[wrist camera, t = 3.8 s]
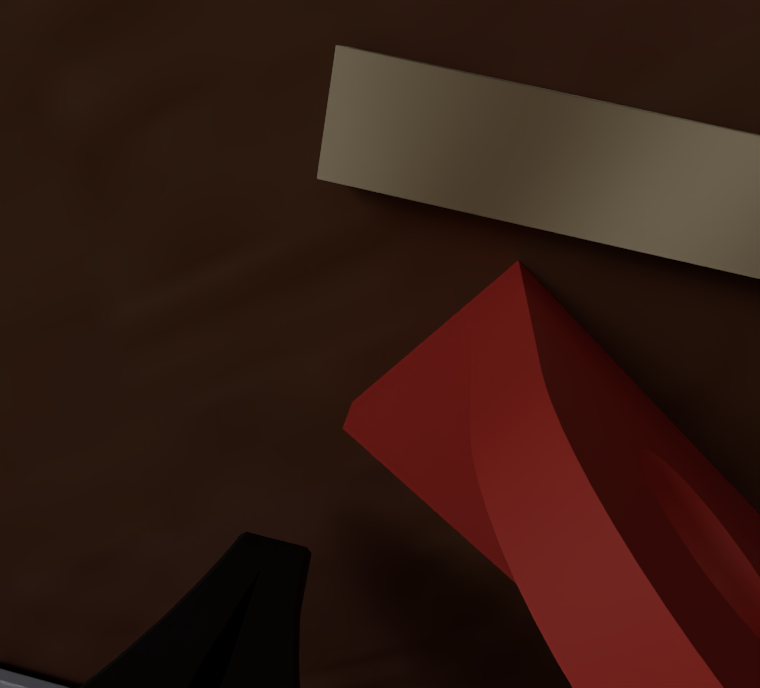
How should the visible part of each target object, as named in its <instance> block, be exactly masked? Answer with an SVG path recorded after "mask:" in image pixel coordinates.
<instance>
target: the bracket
mask: <svg viewBox="0 0 760 688" xmlns="http://www.w3.org/2000/svg"><path fill="white" fill-rule="evenodd" d="M343 429H344V430H345V431H346V432H347V433H348V434H350V435H351V436H352V437H353V438H354V439H355V440H356V441H357V442H358V443H360V444H361V445H362V446H363V447H364V448H365V449H366V450H367V451H369V452H370V453H371V454H372V455H373V456H374V457H375V458H376V459H377V460H379V461H380V462H381V463H382V464H383V465H384V466H385V467H386V468H388V469H389V470H390V471H391V472H392V473H393V474H394V475H395V476H396V477H398V478H399V479H400V480H401V481H402V482H403V483H404V484H405V485H406V486H408V487H409V488H410V489H411V490H412V491H413V492H414V493H415V494H417V495H418V496H419V497H420V498H421V499H422V500H423V501H424V502H425V503H427V504H428V505H429V506H430V507H431V508H432V509H433V510H434V511H436V512H437V513H438V514H439V515H440V516H441V517H442V518H443V519H444V520H446V521H447V522H448V523H449V524H450V525H451V526H452V527H453V528H455V529H456V530H457V531H458V532H459V533H460V534H461V535H462V536H463V537H465V538H466V539H467V540H468V541H469V542H470V543H471V544H472V545H474V546H475V547H476V548H477V549H478V550H479V551H480V552H481V553H482V554H484V555H485V556H486V557H487V558H488V559H489V560H490V561H491V562H492V563H494V564H495V565H496V566H497V567H498V568H499V569H500V570H501V571H503V572H504V573H505V574H506V575H507V576H508V577H509V578H510V579H511V580H513V581H514V582H515V583H516V584H517V586H518V588H519V590H520V592H521V594H522V596H523V598H524V600H525V602H526V604H527V606H528V608H529V610H530V612H531V614H532V616H533V618H534V620H535V622H536V624H537V626H538V628H539V630H540V631H541V633H542V635H543V637H544V639H545V641H546V642H547V644H548V646H549V648H550V650H551V652H552V653H553V655H554V657H555V659H556V661H557V662H558V664H559V666H560V667H561V669H562V671H563V672H564V674H565V676H566V677H567V679H568V681H569V682H570V684H571V686H572V687H573V688H760V514H759V513H758V512H757V511H756V510H755V509H754V508H753V507H752V506H751V505H750V504H749V503H748V502H747V501H746V499H745V498H744V497H743V496H742V495H741V494H740V493H739V492H738V491H737V490H736V489H735V488H734V487H733V486H732V485H731V484H730V483H729V482H728V481H727V479H726V478H725V477H724V476H723V475H722V474H721V473H720V472H719V471H718V470H717V469H716V468H715V467H714V466H713V465H712V464H711V463H710V462H709V461H708V459H707V458H706V457H705V456H704V455H703V454H702V453H701V452H700V451H699V450H698V449H697V448H696V447H695V446H694V445H693V444H692V443H691V442H690V441H689V439H688V438H687V437H686V436H685V435H684V434H683V433H682V432H681V431H680V430H679V429H678V428H677V427H676V426H675V425H674V424H673V423H672V422H671V420H670V419H669V418H668V417H667V416H666V415H665V414H664V413H663V412H662V411H661V410H660V409H659V408H658V407H657V406H656V405H655V404H654V403H653V402H652V400H651V399H650V398H649V397H648V396H647V395H646V394H645V393H644V392H643V391H642V390H641V389H640V388H639V387H638V386H637V385H636V384H635V383H634V382H633V380H632V379H631V378H630V377H629V376H628V375H627V374H626V373H625V372H624V371H623V370H622V369H621V368H620V367H619V366H618V365H617V364H616V363H615V361H614V360H613V359H612V358H611V357H610V356H609V355H608V354H607V353H606V352H605V351H604V350H603V349H602V348H601V347H600V346H599V345H598V344H597V343H596V341H595V340H594V339H593V338H592V337H591V336H590V335H589V334H588V333H587V332H586V331H585V330H584V329H583V328H582V327H581V326H580V325H579V324H578V323H577V321H576V320H575V319H574V318H573V317H572V316H571V315H570V314H569V313H568V312H567V311H566V310H565V309H564V308H563V307H562V306H561V305H560V304H559V302H558V301H557V300H556V299H555V298H554V297H553V296H552V295H551V294H550V293H549V292H548V291H547V290H546V289H545V288H544V287H543V286H542V285H541V284H540V282H539V281H538V280H537V279H536V278H535V277H534V276H533V275H532V274H531V273H530V272H529V271H528V270H527V269H526V268H525V267H524V266H523V265H522V264H521V262H520V261H519V260H518V261H517V262H516V263H515V264H514V265H512V266H511V267H510V268H509V269H508V270H507V271H505V272H504V273H503V274H502V275H501V276H500V277H498V278H497V279H496V280H495V281H494V282H493V283H491V284H490V285H489V286H488V287H487V288H486V289H484V290H483V291H482V292H481V293H480V294H478V295H477V296H476V297H475V298H474V299H473V300H471V301H470V302H469V303H468V304H467V305H466V306H464V307H463V308H462V309H461V310H460V311H459V312H457V313H456V314H455V315H454V316H453V317H452V318H450V319H449V320H448V321H447V322H446V323H444V324H443V325H442V326H441V327H440V328H439V329H437V330H436V331H435V332H434V333H433V334H432V335H430V336H429V337H428V338H427V339H426V340H425V341H423V342H422V343H421V344H420V345H419V346H418V347H416V348H415V349H414V350H413V351H412V352H410V353H409V354H408V355H407V356H406V357H405V358H403V359H402V360H401V361H400V362H399V363H398V364H396V365H395V366H394V367H393V368H392V369H391V370H389V371H388V372H387V373H386V374H385V375H384V376H382V377H381V378H380V379H379V380H378V381H377V382H375V383H374V384H373V385H372V386H371V387H369V388H368V389H367V390H366V391H365V392H364V393H362V394H361V395H360V396H359V397H358V398H357V399H355V400H354V401H353V402H352V404H351V407H350V410H349V412H348V415H347V418H346V421H345V423H344V426H343Z"/></svg>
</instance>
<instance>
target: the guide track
mask: <svg viewBox="0 0 760 688" xmlns="http://www.w3.org/2000/svg"><path fill="white" fill-rule="evenodd" d="M317 179H321V180H325V181H330V182H334V183H339V184H343V185H347V186H352V187H356V188H361V189H365V190H369V191H374V192H378V193H383V194H387V195H392V196H396V197H400V198H405V199H409V200H414V201H418V202H422V203H427V204H431V205H436V206H440V207H444V208H449V209H453V210H458V211H462V212H467V213H471V214H475V215H480V216H484V217H489V218H493V219H497V220H502V221H506V222H511V223H515V224H519V225H524V226H528V227H533V228H537V229H542V230H546V231H550V232H555V233H559V234H564V235H568V236H572V237H577V238H581V239H586V240H590V241H594V242H599V243H603V244H608V245H612V246H617V247H621V248H625V249H630V250H634V251H639V252H643V253H647V254H652V255H656V256H661V257H665V258H669V259H674V260H678V261H683V262H687V263H692V264H696V265H700V266H705V267H709V268H714V269H718V270H722V271H727V272H731V273H736V274H740V275H744V276H749V277H753V278H758V279H760V135H758V134H753V133H749V132H744V131H739V130H735V129H730V128H726V127H721V126H716V125H712V124H707V123H702V122H698V121H693V120H688V119H684V118H679V117H674V116H670V115H665V114H660V113H656V112H651V111H646V110H642V109H637V108H632V107H628V106H623V105H619V104H614V103H609V102H605V101H600V100H595V99H591V98H586V97H581V96H577V95H572V94H567V93H563V92H558V91H553V90H549V89H544V88H539V87H535V86H530V85H526V84H521V83H516V82H512V81H507V80H502V79H498V78H493V77H488V76H484V75H479V74H474V73H470V72H465V71H460V70H456V69H451V68H446V67H442V66H437V65H433V64H428V63H423V62H419V61H414V60H409V59H405V58H400V57H395V56H391V55H386V54H381V53H377V52H372V51H367V50H363V49H358V48H353V47H349V46H339V45H336V49H335V56H334V63H333V70H332V77H331V84H330V91H329V98H328V105H327V112H326V119H325V126H324V133H323V140H322V147H321V154H320V161H319V168H318V175H317Z"/></svg>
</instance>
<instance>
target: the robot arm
mask: <svg viewBox="0 0 760 688" xmlns="http://www.w3.org/2000/svg"><path fill="white" fill-rule="evenodd" d="M310 558H311V552H310V551H309V550H308V548H307V547H304V546H300V545H296V544H292V543H288V542H284V541H280V540H276V539H272V538H268V537H264V536H260V535H257V534H253V533H249V532H245V533H243V534H241V535H240V536H239V537H238V538H237V540H236V541H235V542H234V543H233V544H232V546H231V547H230V548H229V549H228V550H227V552H226V553H225V554H224V555H223V556H222V557H221V558H220V560H219V561H218V562H217V563H216V564H215V565H214V566H213V567H212V568H211V569H210V570H209V572H208V573H207V574H206V575H205V576H204V577H203V578H202V579H201V580H200V581H199V582H198V583H197V584H196V585H195V586H194V587H193V588H192V589H191V590H190V591H189V592H188V593H187V594H186V595H185V596H184V597H183V598H182V599H181V600H180V601H179V602H178V603H177V604H176V605H175V606H174V607H173V608H172V609H171V610H170V611H169V612H168V613H167V614H166V615H165V616H163V617H162V618H161V619H160V620H159V621H158V622H157V623H156V624H155V625H153V626H152V627H151V628H150V629H149V630H148V631H147V632H146V633H145V634H143V635H142V636H141V637H140V638H139V639H138V640H137V641H136V642H134V643H133V644H132V645H131V646H130V647H129V648H128V649H126V650H125V651H124V652H123V653H122V654H120V655H119V656H118V657H117V658H116V659H114V660H113V661H112V662H111V663H110V664H108V665H107V666H106V667H105V668H103V669H102V670H101V671H100V672H98V673H97V674H96V675H95V676H93V677H92V678H91V679H89V680H88V681H87V682H86V683H84V684H83V685H82V686H80V687H79V688H300V681H299V630H300V612H301V607H302V602H303V596H304V591H305V585H306V580H307V574H308V569H309V563H310ZM0 688H70V687H67V686H63V685H59V684H56V683H52V682H48V681H45V680H41V679H38V678H34V677H30V676H27V675H23V674H19V673H16V672H12V671H8V670H5V669H1V668H0Z"/></svg>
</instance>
